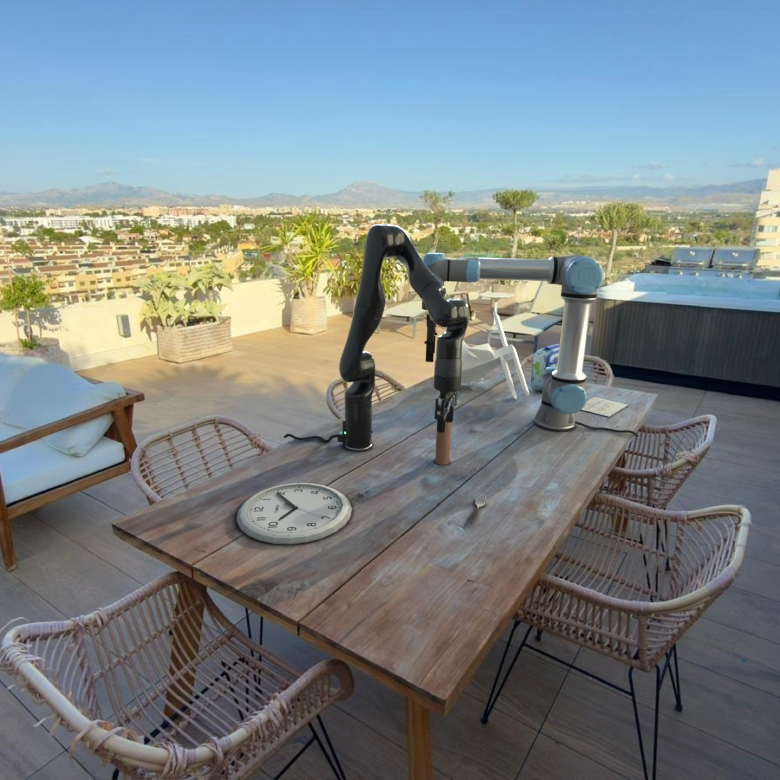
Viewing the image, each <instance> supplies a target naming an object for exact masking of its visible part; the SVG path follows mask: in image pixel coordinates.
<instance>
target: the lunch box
mask: <svg viewBox="0 0 780 780" xmlns="http://www.w3.org/2000/svg"><path fill="white" fill-rule="evenodd" d="M559 346H560V343H555V344H552V345H547V346H545V347H542V348H539V349H537V350H536V351H535V353H534V355H533V358H532V363H531V364H532V365H531V376H530V377H531V378H530V387H531V389H532V390H536V391H539V392H540V391H541V392H543V382H544V373H545V369H546V368H547V367H553V366H557V364H558V355H559Z"/></svg>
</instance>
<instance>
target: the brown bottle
mask: <svg viewBox="0 0 780 780" xmlns="http://www.w3.org/2000/svg"><path fill="white" fill-rule="evenodd" d="M440 415H441V414H440ZM441 416H442V415H441ZM452 424H453V422H452V423H450V422H446V424H445V432H444V433H441V432H437V431H436V432H435V434H436V435H435V454H434V456H435V458H434V462H435V463H436V464H437V465H441V466H442V465H443V466H444V465H445V466H446V465H448V464H450V460H451V459H450V458H451V443H452V426H453V425H452Z"/></svg>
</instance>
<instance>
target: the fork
mask: <svg viewBox="0 0 780 780" xmlns="http://www.w3.org/2000/svg"><path fill="white" fill-rule="evenodd" d="M479 492H480V491H478V492H477V495H476V499H475V502H474V504H475V506H476V508H475V509H474V511H473V513H472V515H471V516H472V517H471V521H470V523H469V524H470V526H472V525H473V523H474V521H475V520H476V518H477V517H478V512H479V508H481V507H483V506H485V505H486V499H487V494H485V492H483V493H479ZM484 495H485V496H484ZM481 496H482V497H481Z"/></svg>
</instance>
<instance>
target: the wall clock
mask: <svg viewBox="0 0 780 780" xmlns="http://www.w3.org/2000/svg"><path fill="white" fill-rule="evenodd" d="M352 511H353V508H352V505H351V501H350V500H349V499H348V497H346V495H345V494H344V493H342V492H340V491H338V490H336V489H335V488H332V487H329V486H327V485H324V484H318V483H310V482H295V483H285V484H280V485H275V486H271V487H270V488H266V489H263V490H261V491H259V492H258V493H257V492H256V493H255V494H254V495H252V496H250V497H249V498H248V499H247V500H245V502H243V503H242V504H241V505H240V507H239V509H238V511H237V515H236V523H237V525H238V528H239V530H241V531H242V532H243V533H244V534H246V535H247V536H249V537H250V538H252V539H255V540H257V541H260V542H263V543H264V542H265V543H267V544H268V543H269V544H274V545H296V544H297V545H298V544H305V543H309V542H314V541H318V540H321V539H323V538H326V537H328V536H330V535H332V534H335V533H336V532H337V531H339V530H340V529H342V528H343V527H344V526H345V525H346V524H347V523H348V521H349V520H350V519H351V516H352Z"/></svg>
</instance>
